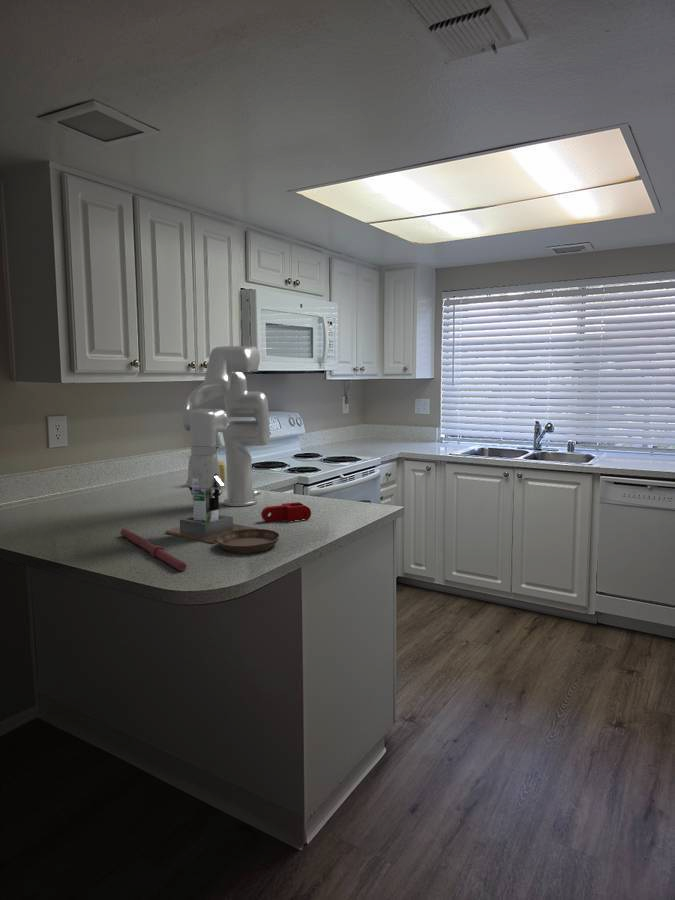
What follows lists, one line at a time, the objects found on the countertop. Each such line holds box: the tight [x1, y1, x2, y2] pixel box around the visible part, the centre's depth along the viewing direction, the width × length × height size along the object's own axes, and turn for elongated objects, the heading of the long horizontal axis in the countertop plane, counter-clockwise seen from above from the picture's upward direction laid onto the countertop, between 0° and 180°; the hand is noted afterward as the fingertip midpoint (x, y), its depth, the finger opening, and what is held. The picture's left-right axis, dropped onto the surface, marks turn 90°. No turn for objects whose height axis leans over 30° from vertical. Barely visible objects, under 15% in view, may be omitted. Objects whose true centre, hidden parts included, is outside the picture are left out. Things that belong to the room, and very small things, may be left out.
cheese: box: [218, 461, 226, 485], centre depth 278 cm, size 10×11×10 cm
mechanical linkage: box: [260, 501, 312, 523], centre depth 208 cm, size 16×7×5 cm, turn 113°
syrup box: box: [192, 478, 219, 523], centre depth 190 cm, size 6×6×14 cm
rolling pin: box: [120, 528, 187, 572], centre depth 172 cm, size 45×3×3 cm, turn 37°
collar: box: [165, 513, 259, 544], centre depth 193 cm, size 18×22×5 cm
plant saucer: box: [217, 528, 280, 554], centre depth 177 cm, size 18×18×3 cm
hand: (206, 508), depth 191 cm, fingers closed on syrup box, 6 cm apart
